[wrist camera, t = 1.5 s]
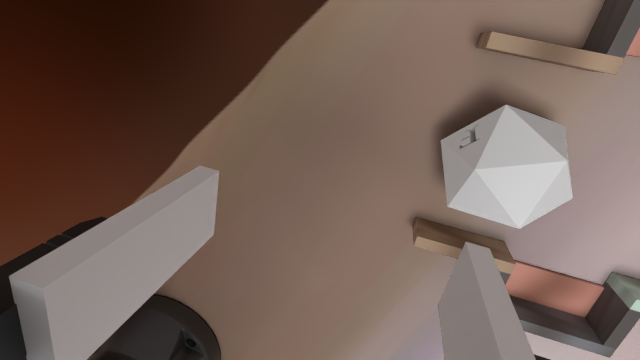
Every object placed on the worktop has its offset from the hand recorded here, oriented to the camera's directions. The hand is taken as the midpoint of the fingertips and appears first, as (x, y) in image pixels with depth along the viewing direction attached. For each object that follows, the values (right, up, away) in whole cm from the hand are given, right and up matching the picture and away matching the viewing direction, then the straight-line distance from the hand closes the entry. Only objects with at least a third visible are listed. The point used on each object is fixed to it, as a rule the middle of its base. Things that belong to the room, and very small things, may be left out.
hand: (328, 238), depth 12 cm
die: (+14, +4, +17) cm, 22 cm away
